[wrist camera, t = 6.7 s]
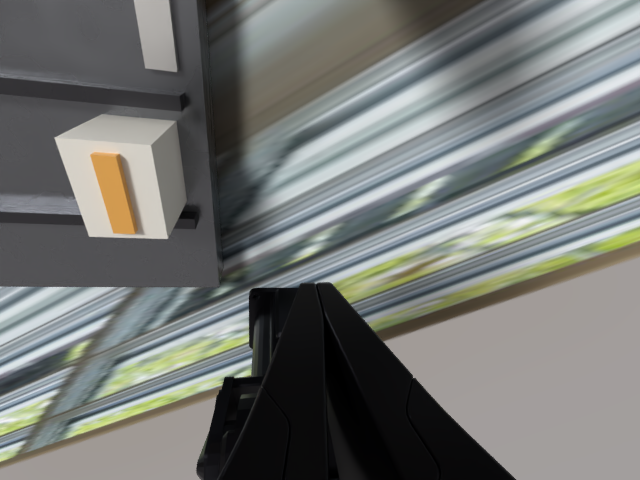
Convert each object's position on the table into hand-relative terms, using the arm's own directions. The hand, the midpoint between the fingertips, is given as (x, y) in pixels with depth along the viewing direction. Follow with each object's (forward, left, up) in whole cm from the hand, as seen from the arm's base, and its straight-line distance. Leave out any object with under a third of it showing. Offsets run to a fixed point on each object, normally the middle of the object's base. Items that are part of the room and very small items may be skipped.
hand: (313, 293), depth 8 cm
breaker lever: (0, +7, -9) cm, 11 cm away
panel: (0, +10, -11) cm, 15 cm away
